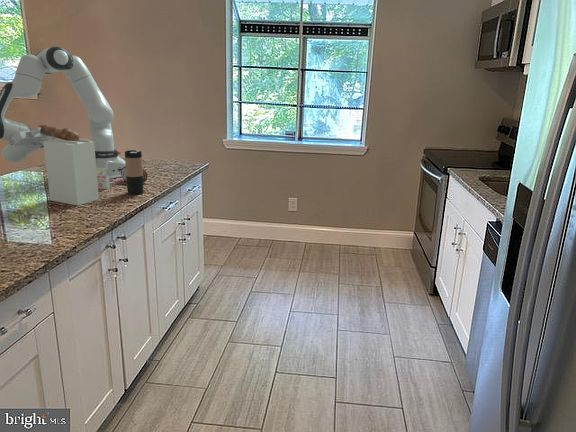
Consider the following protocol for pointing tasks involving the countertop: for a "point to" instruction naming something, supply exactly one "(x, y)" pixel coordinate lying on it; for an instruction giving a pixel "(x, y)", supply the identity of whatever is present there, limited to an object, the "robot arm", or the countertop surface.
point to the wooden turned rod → (59, 132)
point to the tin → (123, 174)
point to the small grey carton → (103, 178)
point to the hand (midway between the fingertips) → (45, 128)
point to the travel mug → (134, 172)
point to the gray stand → (71, 171)
